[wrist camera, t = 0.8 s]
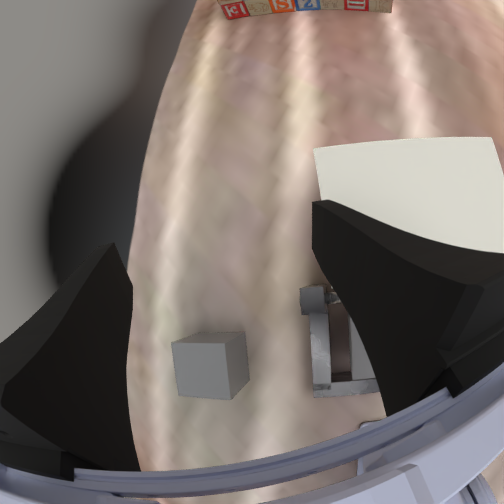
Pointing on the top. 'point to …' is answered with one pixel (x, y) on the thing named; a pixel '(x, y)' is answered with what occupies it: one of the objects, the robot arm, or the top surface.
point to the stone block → (211, 365)
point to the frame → (327, 347)
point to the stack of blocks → (298, 6)
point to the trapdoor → (418, 195)
